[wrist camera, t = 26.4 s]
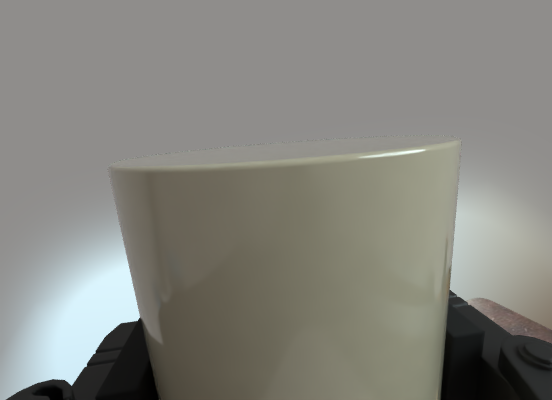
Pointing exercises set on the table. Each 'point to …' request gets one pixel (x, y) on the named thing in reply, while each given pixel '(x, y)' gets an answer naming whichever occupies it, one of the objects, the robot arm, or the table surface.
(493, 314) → the table surface
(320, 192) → the beige cylinder
